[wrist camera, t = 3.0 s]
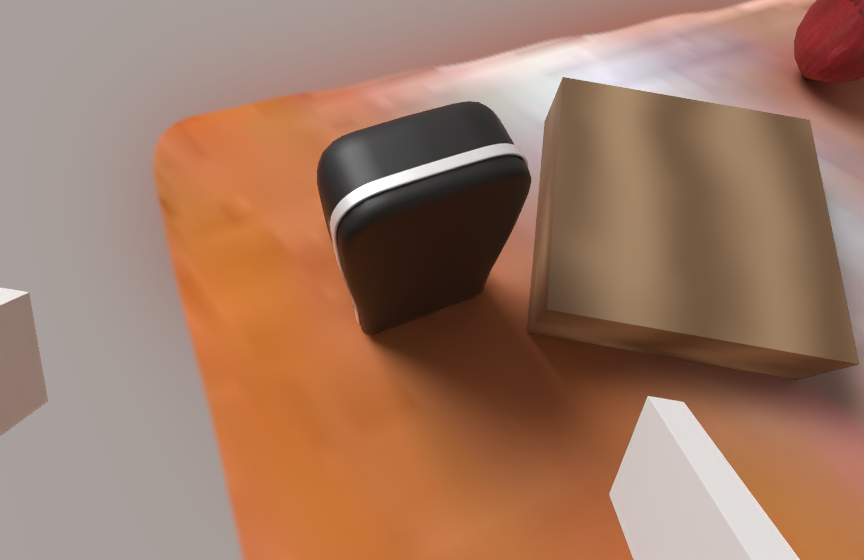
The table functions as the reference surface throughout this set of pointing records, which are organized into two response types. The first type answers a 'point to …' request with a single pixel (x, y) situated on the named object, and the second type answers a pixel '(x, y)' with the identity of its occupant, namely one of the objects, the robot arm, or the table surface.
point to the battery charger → (421, 209)
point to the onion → (831, 41)
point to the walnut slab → (686, 234)
